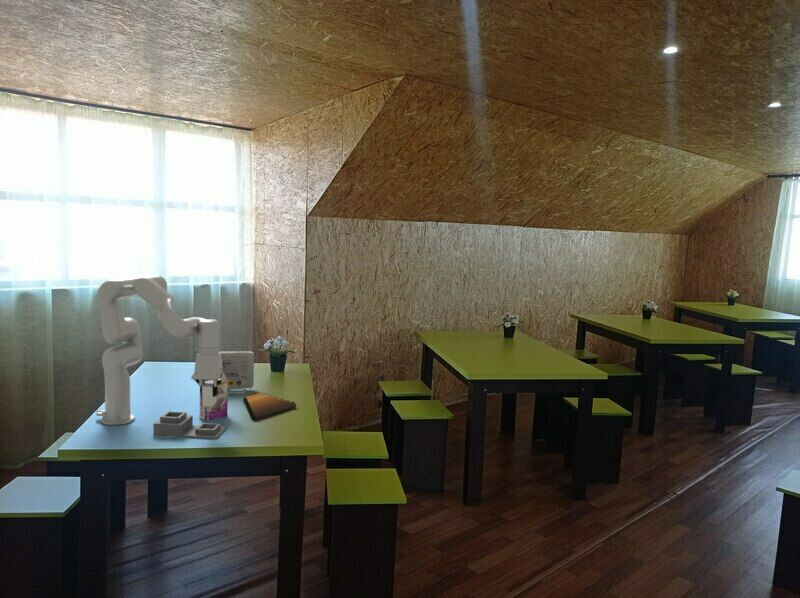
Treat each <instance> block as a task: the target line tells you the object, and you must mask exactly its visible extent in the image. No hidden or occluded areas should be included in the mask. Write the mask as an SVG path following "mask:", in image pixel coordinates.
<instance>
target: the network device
mask: <svg viewBox="0 0 800 598" xmlns="http://www.w3.org/2000/svg"><path fill="white" fill-rule="evenodd" d="M219 353H220V354H221V359H222V367H223V373H224V375H225V376H226V378H227V379H226V380H228V393H236V394H245V392H246V393H247V389H251V388H253V387H254V380H255V378H254V375H255V374H254V373H255V372H254V369H255V367H254V366H255V353H254V352H253V351H248V350H247V351H246V350H245V351H239V350H237V351H235V350H234V351H232V350H231V351H219ZM219 379H222V378H221V377H220V378H219ZM205 381H210V380H205ZM230 389H231V390H243V391H231V390H230Z"/></svg>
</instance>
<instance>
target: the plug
mask: <svg viewBox="0 0 800 598" xmlns="http://www.w3.org/2000/svg"><path fill="white" fill-rule="evenodd" d="M213 387H214V384H213V382H210V381H205V382H204V383H203V384H202V400H203V406H209V407H213V406H214V405H215V403H216V396H215V397H213Z"/></svg>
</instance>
